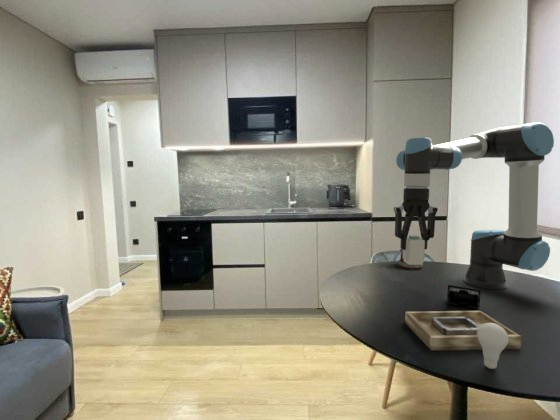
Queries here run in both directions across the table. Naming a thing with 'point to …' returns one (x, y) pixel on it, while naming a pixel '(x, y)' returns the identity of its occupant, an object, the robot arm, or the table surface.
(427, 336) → the birch box
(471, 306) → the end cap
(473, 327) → the grey rectangular frame
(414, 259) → the white block teal patch
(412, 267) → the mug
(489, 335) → the lightbulb
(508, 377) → the table surface
